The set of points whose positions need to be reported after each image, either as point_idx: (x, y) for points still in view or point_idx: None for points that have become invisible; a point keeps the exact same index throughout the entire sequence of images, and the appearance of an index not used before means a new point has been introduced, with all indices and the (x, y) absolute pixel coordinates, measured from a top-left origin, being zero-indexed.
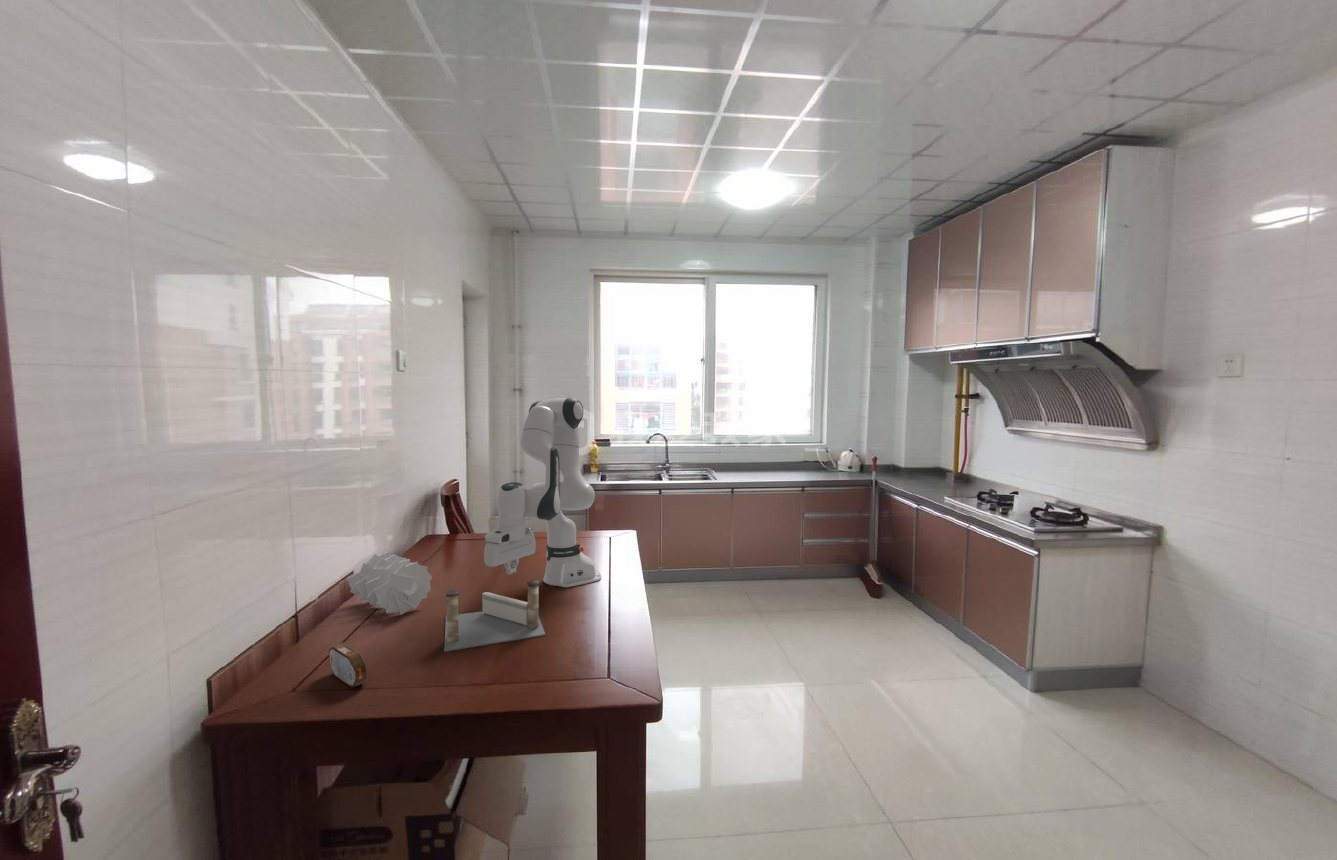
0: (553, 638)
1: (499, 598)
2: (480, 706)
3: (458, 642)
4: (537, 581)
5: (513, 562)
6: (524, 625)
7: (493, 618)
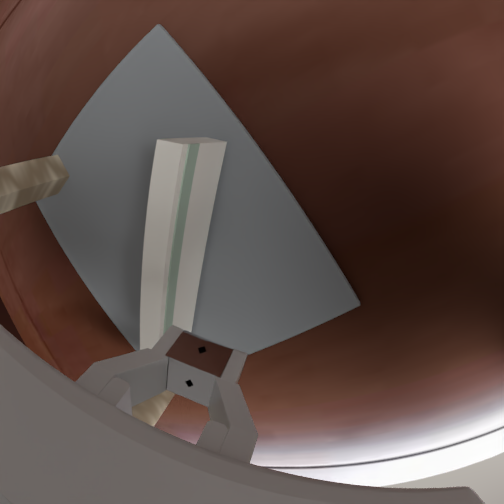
0: None
1: (143, 264)
2: (15, 325)
3: (53, 200)
4: None
5: (222, 424)
6: None
7: None
